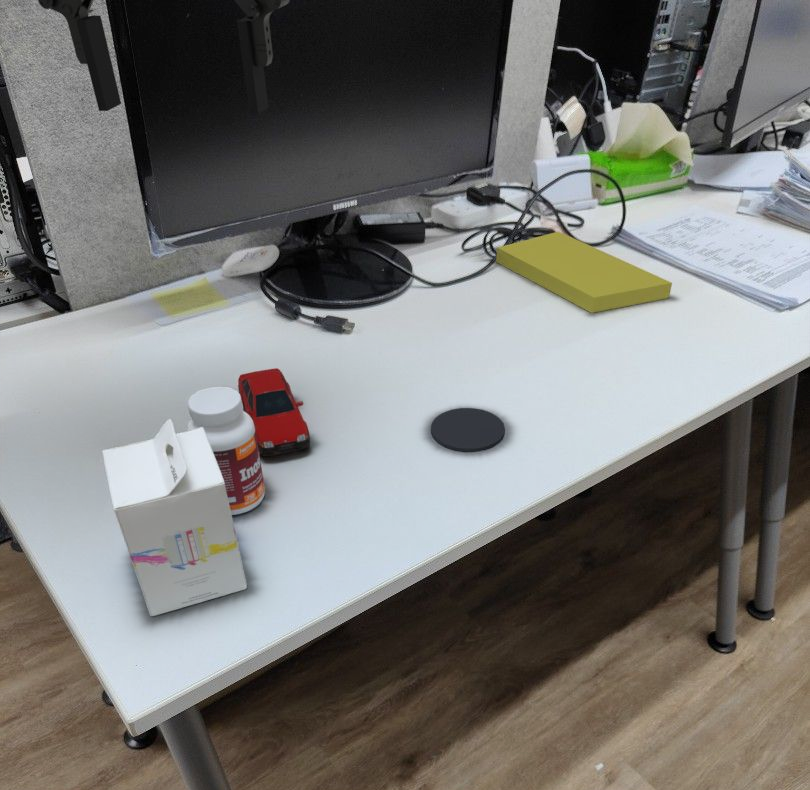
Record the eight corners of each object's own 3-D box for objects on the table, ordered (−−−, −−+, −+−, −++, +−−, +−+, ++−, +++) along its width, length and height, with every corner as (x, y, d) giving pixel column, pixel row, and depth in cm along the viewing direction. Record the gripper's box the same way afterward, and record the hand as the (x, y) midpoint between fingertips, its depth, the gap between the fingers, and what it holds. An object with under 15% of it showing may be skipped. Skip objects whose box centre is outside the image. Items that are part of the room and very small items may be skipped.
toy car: (257, 467, 78) (250, 426, 75) (235, 398, 89) (227, 360, 85) (318, 454, 80) (313, 413, 77) (289, 388, 90) (283, 350, 87)
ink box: (134, 555, 69) (91, 429, 60) (226, 529, 71) (198, 405, 62) (150, 619, 63) (105, 491, 54) (249, 589, 65) (222, 462, 56)
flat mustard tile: (496, 261, 118) (603, 319, 102) (497, 247, 116) (606, 303, 101) (557, 245, 122) (668, 298, 107) (558, 231, 121) (672, 282, 105)
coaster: (417, 423, 84) (417, 420, 84) (477, 403, 87) (477, 400, 87) (456, 460, 79) (456, 456, 78) (519, 437, 82) (519, 434, 81)
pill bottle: (259, 518, 72) (240, 419, 65) (195, 517, 73) (169, 418, 65) (271, 479, 77) (255, 382, 70) (211, 477, 77) (189, 381, 70)
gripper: (310, -246, 53) (334, 101, 67) (-18, -231, 56) (71, 96, 70) (277, -259, 47) (312, 123, 61) (-83, -241, 51) (27, 116, 65)
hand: (183, 109), depth 66 cm, fingers open, 13 cm apart
